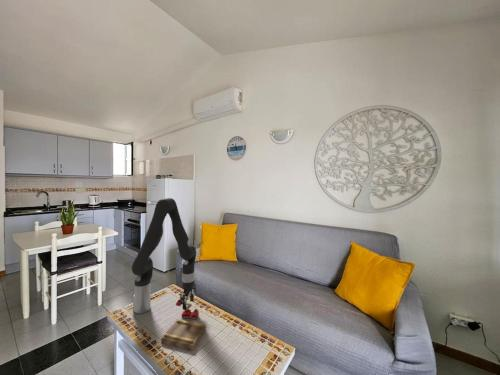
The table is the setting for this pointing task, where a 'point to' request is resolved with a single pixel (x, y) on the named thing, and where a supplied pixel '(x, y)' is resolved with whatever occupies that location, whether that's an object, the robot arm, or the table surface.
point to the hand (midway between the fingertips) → (188, 305)
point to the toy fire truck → (188, 311)
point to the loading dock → (183, 334)
